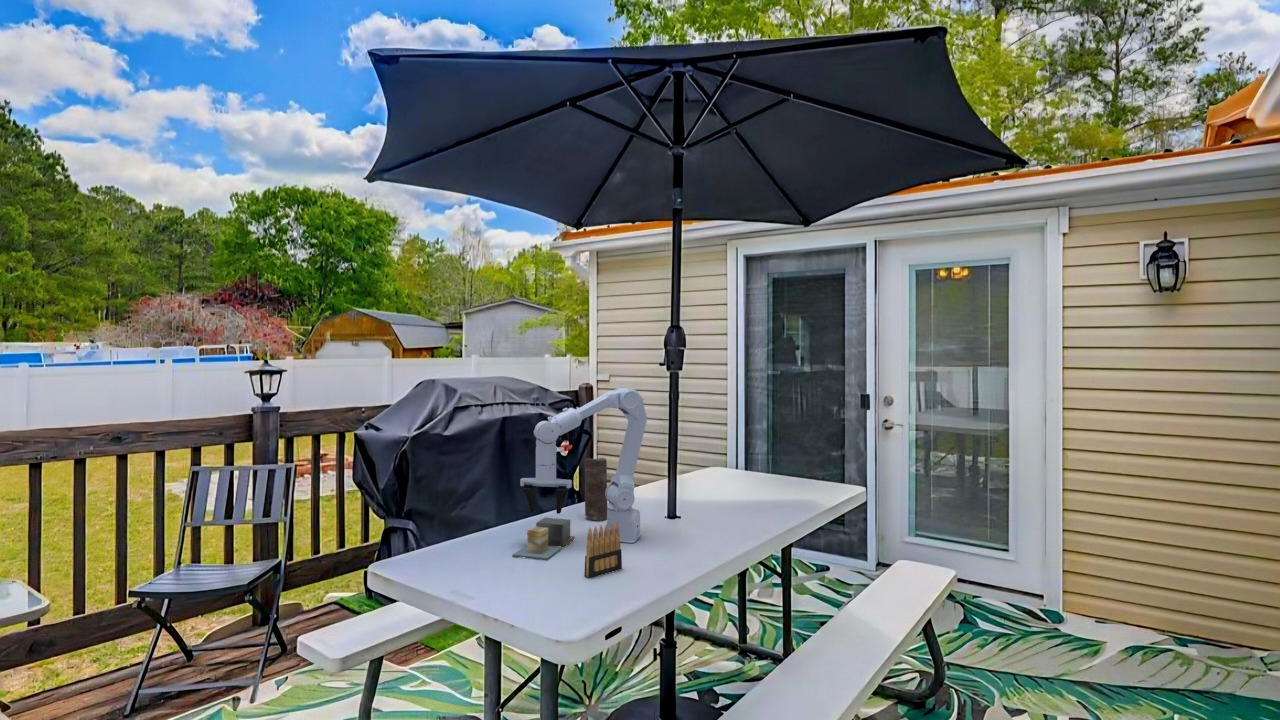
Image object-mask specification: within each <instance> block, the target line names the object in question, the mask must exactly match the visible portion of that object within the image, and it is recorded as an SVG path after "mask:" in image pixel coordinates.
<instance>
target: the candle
mask: <svg viewBox="0 0 1280 720" xmlns="http://www.w3.org/2000/svg"><path fill="white" fill-rule="evenodd" d="M607 467H608V465H607V458H605V457H600V458H585V459H584V516H585V517H586V518H589V519H590V520H594V521H597V522H602V521H604V520H607V506H608V500H607V499H606V496H605V491H606V488H607V487H608V476H607V475H608V472H607V470H608V469H607Z"/></svg>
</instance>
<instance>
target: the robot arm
mask: <svg viewBox="0 0 1280 720" xmlns="http://www.w3.org/2000/svg"><path fill="white" fill-rule="evenodd" d="M644 400H645V399H644V398H643V397H642V396H641V394H640V393H639V391H638V390H636V389H634V388H626V387H623V386H619V387H617V388H615V389H614V390H613V389H612V390H609V391H607V392H606V393H603V394H601V395H599V396H598V397H596V398H594V399H593V400H591V401H589V402H588V403H586V404H584V405H582V406H580V407H579V408H574V407H569V408H568V407H565V408H562V412H559V413H558V414H555V415H554V416H548V417H547V420H542V421H540V422H538V423H537V424H536V425H535V428H534V430H533V435H534V437H535V438H536V440H535V445H536V446H535V477H522V478H520V482H519V483H520V485H519V486H520V487H523V488H522V492H523V494H524V496H525V498H526V500H527V503H528V506H529V511H530V513H534V512H535V511H536V496H537V495H536V492H537V487H549V488H551V487H552V488H556V489H555V496H556V509H555V510H556V514H559V515H560V513H562V509H563V505H564V501H565V499H566V496H567V493H568V491H569V489H571V488H572V486H573V485H572V484H573V481H572V479H563V478H557V446H556V444H557V440H558V438H559V436H562V435H564V434H566V433H568V432H570V431H572V430H574V429H576V428H578V427H580V426H581V424H582V421H583V420H584V419H585V418H588V417H590V416H592V415H594V414H597V413H598V412H601V411H603V410H605V409H618V410H619V411H620V412H622V414H623V415H624V417H625V418H626V419H627V426H626V430H625V434H624V439H623V442H622V446H621V449H620V455H619V458H618V462H617V467H616V471H615V474H614V475H612V477H611V479H610V482H609V485H607V488H606V491H605V496H606V499H607V502H608V503H607V519H606V524H607V526H608V530H609V531H610V525H611V523H613V526H614V536H615V526H616V522H618V524H619V530H620V543H627V544H628V543H630V544H634V543H635V542H636V541H637V540H639V538H640V537H641V513H640V510H639V509H635V508H632V507H633V505H634V503H635V493H634V491H635V482H634V474H635V471H636V467H637V462H638V459H639V454H640V450H641V447H642V442H643V438H644V434H645V429H646V425H647V422H648V416H647V413H646V409H645V405H644Z"/></svg>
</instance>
